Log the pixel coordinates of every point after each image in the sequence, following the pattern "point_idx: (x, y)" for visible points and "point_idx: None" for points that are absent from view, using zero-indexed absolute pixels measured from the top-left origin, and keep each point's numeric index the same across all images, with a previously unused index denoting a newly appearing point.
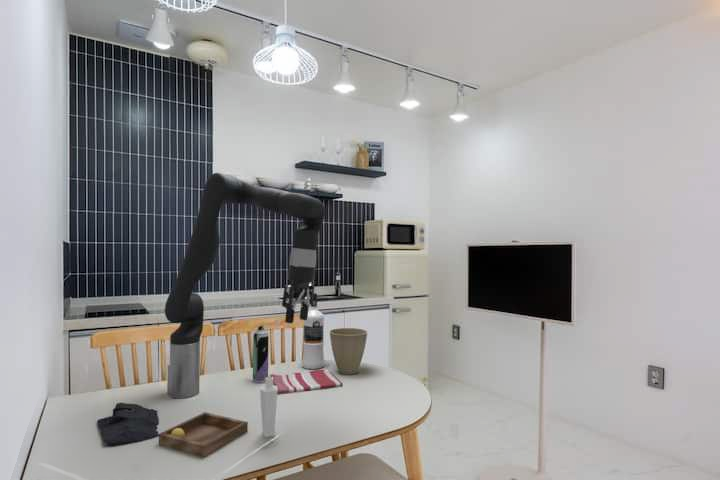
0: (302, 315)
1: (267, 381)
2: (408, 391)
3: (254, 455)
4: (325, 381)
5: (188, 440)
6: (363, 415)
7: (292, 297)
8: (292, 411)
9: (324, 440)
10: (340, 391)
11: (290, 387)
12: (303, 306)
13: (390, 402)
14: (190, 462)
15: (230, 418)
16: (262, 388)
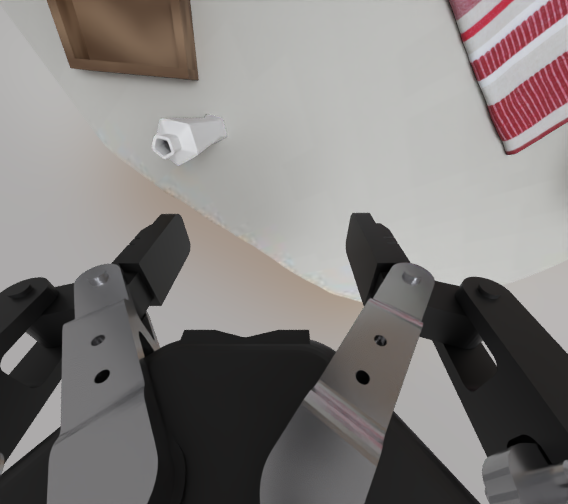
0: (355, 240)
1: (156, 146)
2: (463, 277)
3: None
4: (539, 99)
5: (53, 2)
6: (342, 240)
7: (25, 413)
8: (327, 110)
9: (243, 218)
10: (466, 163)
11: (478, 10)
12: (378, 283)
13: None
14: None
15: (179, 14)
16: (160, 127)
